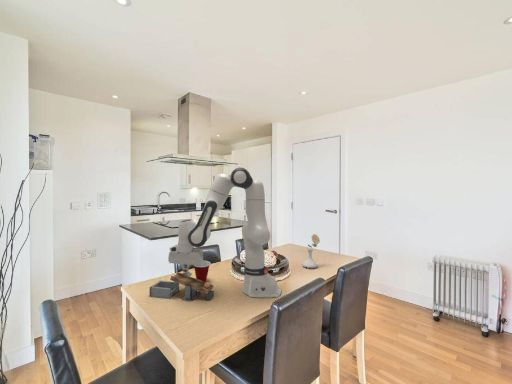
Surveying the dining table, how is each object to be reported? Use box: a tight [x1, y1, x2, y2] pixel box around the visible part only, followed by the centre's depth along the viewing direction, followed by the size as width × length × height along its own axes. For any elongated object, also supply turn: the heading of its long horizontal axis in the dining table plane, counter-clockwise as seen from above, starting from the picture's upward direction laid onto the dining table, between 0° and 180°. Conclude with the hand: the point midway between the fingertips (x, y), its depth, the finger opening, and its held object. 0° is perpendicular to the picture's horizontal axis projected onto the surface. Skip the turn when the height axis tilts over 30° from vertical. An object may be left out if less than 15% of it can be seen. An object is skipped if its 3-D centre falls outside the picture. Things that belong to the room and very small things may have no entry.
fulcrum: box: [181, 285, 202, 302], centre depth 139 cm, size 6×11×8 cm, turn 169°
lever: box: [170, 271, 214, 295], centre depth 142 cm, size 22×14×2 cm, turn 79°
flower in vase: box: [301, 233, 320, 269], centre depth 192 cm, size 13×11×25 cm
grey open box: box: [149, 280, 180, 299], centre depth 142 cm, size 12×10×5 cm
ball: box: [204, 281, 211, 289], centre depth 137 cm, size 3×3×3 cm
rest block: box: [205, 289, 215, 301], centre depth 137 cm, size 2×5×3 cm, turn 169°
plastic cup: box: [193, 259, 211, 282], centre depth 160 cm, size 11×11×12 cm
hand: (185, 271), depth 147 cm, fingers closed
